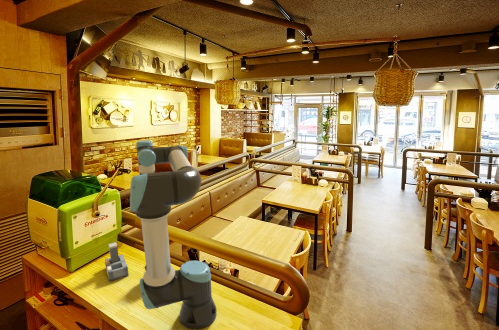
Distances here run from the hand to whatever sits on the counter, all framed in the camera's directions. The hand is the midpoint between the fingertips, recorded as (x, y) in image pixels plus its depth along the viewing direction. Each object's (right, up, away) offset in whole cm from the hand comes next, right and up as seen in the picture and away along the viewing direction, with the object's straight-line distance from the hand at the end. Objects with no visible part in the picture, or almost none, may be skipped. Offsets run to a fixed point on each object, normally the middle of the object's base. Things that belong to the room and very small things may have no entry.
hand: (151, 212), depth 145 cm
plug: (-21, -30, +6) cm, 37 cm away
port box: (-19, -32, +4) cm, 37 cm away
